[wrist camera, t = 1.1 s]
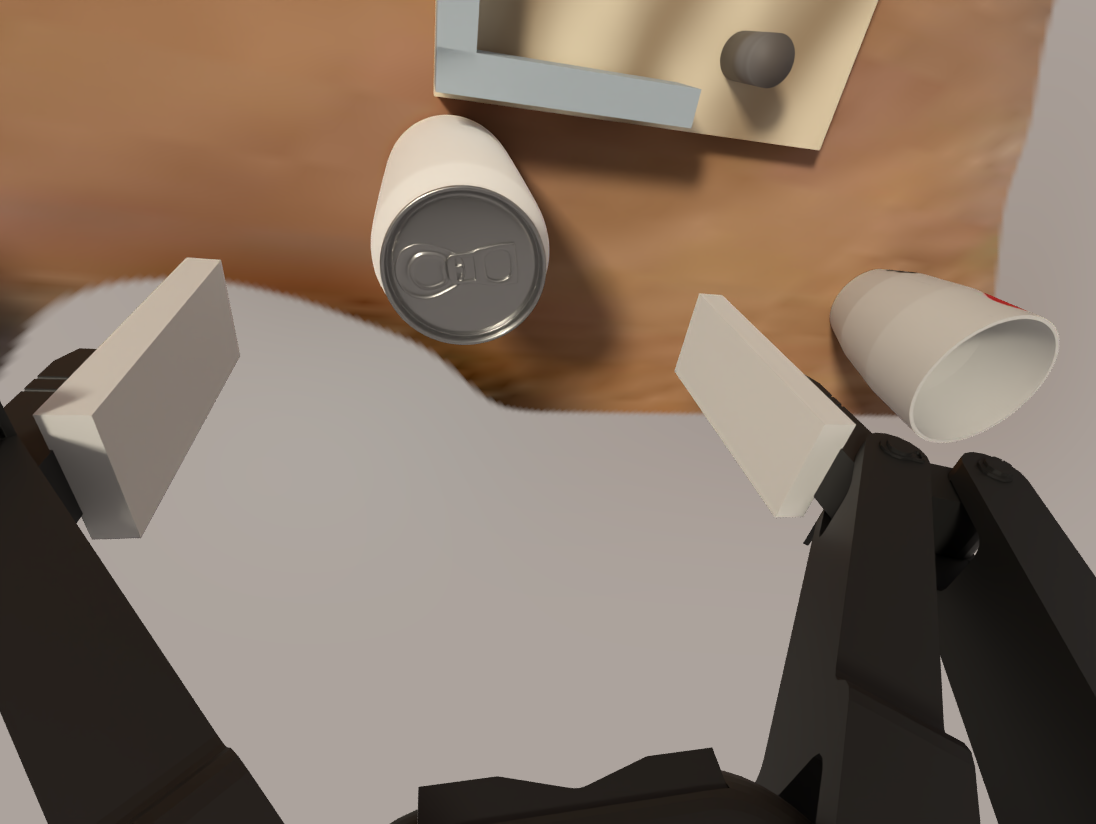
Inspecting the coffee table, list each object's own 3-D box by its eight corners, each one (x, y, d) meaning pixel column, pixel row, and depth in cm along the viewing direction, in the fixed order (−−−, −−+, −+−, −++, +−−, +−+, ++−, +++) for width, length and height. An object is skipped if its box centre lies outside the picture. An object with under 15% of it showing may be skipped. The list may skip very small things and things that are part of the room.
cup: (927, 317, 39) (1055, 396, 31) (820, 375, 40) (917, 464, 32) (916, 221, 34) (1064, 285, 26) (795, 290, 36) (902, 370, 28)
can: (372, 117, 26) (342, 180, 16) (508, 108, 27) (556, 162, 17) (399, 251, 30) (388, 365, 20) (518, 239, 30) (561, 344, 21)
